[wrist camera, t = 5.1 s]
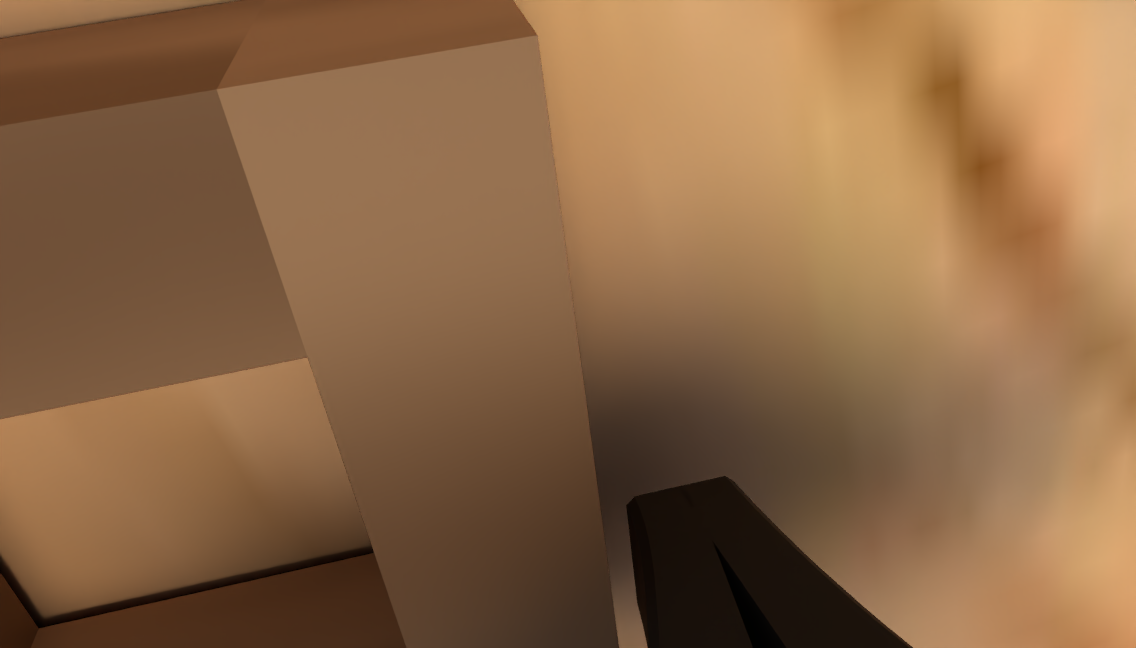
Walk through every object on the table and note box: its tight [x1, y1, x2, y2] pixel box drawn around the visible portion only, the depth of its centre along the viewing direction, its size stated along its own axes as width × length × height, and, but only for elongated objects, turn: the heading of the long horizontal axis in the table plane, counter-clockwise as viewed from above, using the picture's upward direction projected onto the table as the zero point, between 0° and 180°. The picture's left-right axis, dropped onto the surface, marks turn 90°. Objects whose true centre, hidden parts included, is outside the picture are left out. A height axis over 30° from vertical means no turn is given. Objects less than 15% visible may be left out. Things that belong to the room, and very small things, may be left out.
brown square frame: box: [0, 0, 619, 648], centre depth 9 cm, size 9×9×3 cm
